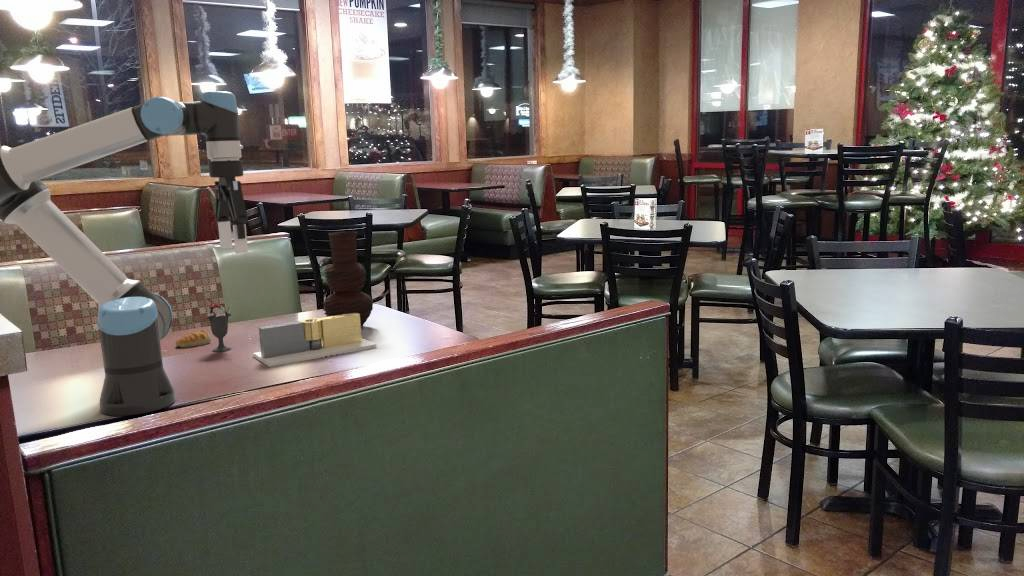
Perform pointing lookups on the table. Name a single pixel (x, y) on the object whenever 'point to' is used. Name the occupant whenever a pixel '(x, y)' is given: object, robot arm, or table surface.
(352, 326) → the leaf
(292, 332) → the grey upright slab
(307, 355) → the jig board
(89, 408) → the table surface
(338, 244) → the vase
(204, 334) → the pastry
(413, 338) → the table surface
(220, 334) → the sundae
